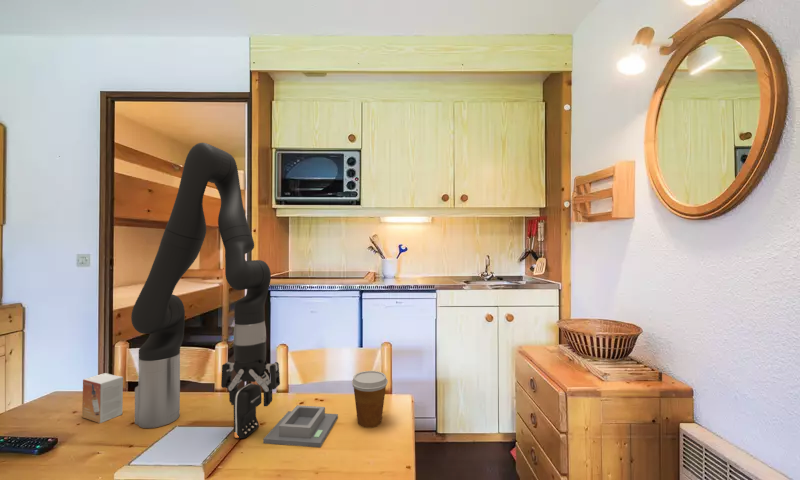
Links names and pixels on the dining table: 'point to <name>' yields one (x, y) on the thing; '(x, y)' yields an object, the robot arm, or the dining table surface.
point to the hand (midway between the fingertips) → (251, 404)
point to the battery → (246, 409)
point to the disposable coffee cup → (369, 397)
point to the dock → (302, 427)
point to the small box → (102, 397)
